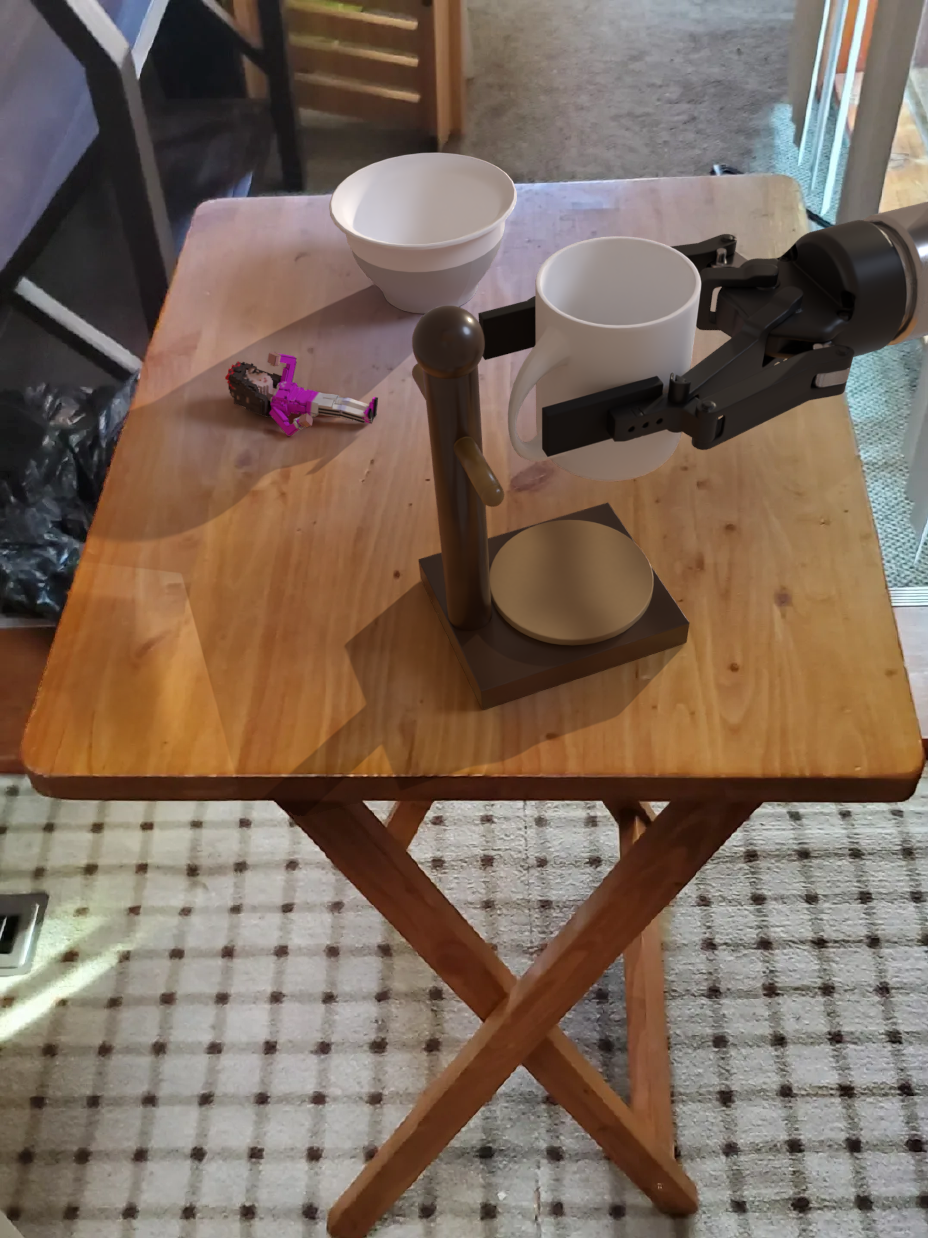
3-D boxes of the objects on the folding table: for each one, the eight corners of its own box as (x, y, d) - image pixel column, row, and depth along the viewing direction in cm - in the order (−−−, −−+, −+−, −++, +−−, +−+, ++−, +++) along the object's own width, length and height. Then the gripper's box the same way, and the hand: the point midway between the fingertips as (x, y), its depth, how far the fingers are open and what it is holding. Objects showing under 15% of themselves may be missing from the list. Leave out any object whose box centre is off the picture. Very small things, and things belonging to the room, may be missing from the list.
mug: (462, 460, 64) (451, 303, 56) (609, 375, 68) (619, 218, 60) (560, 537, 59) (563, 379, 51) (711, 441, 64) (736, 281, 56)
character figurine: (382, 409, 88) (241, 382, 89) (382, 359, 84) (234, 332, 85) (364, 456, 84) (217, 428, 85) (363, 406, 80) (208, 378, 81)
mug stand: (606, 521, 76) (626, 196, 58) (687, 644, 69) (740, 314, 50) (415, 579, 74) (373, 258, 55) (478, 713, 66) (453, 392, 48)
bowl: (384, 229, 104) (374, 142, 98) (541, 252, 100) (541, 163, 94) (313, 321, 95) (296, 231, 88) (483, 351, 90) (479, 259, 84)
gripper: (969, 443, 59) (590, 560, 55) (766, 254, 72) (450, 336, 68) (1014, 326, 53) (596, 446, 49) (785, 144, 67) (442, 226, 63)
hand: (511, 382), depth 59 cm, fingers closed on mug, 9 cm apart
